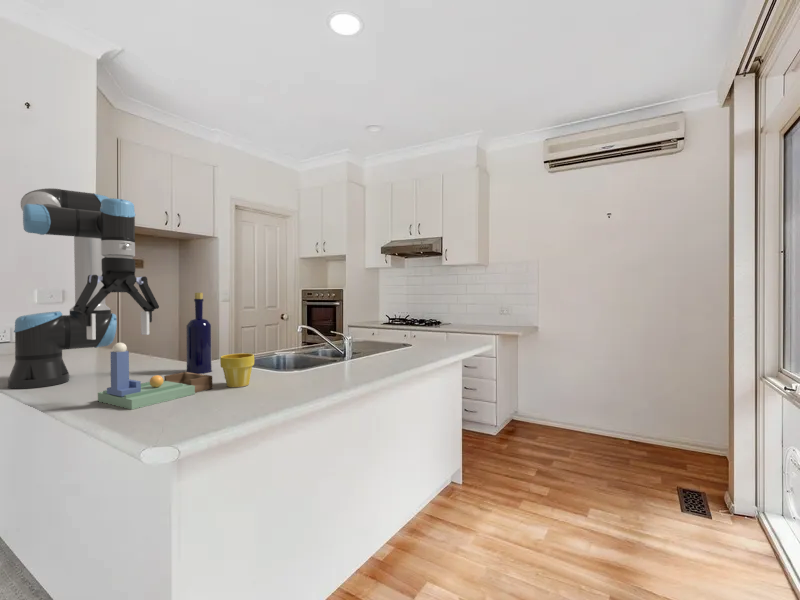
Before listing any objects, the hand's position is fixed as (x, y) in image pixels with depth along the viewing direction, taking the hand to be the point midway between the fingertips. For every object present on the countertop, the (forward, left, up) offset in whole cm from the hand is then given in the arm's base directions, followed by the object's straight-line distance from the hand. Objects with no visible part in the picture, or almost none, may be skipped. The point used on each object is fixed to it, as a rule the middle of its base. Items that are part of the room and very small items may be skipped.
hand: (119, 336), depth 110 cm
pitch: (0, +8, -18) cm, 20 cm away
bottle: (-21, +40, -19) cm, 49 cm away
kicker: (0, +1, -16) cm, 16 cm away
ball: (0, +10, -14) cm, 17 cm away
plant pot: (+10, +31, -19) cm, 37 cm away
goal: (0, +20, -18) cm, 27 cm away
